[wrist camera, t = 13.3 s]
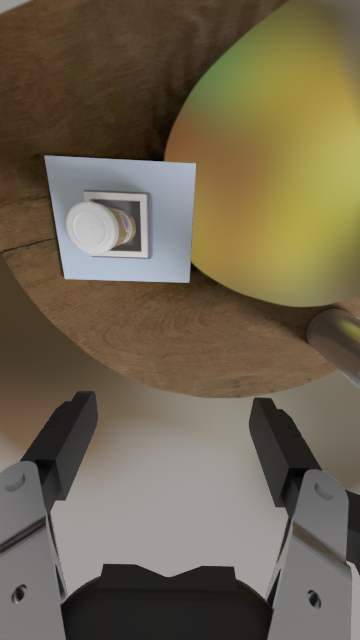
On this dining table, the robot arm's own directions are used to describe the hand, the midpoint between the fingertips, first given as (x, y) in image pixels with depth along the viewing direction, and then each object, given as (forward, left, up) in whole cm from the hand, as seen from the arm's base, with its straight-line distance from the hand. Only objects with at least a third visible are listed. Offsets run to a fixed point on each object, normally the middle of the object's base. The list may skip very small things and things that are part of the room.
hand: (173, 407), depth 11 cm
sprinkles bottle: (+8, -8, -27) cm, 29 cm away
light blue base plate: (+8, -8, -32) cm, 34 cm away
